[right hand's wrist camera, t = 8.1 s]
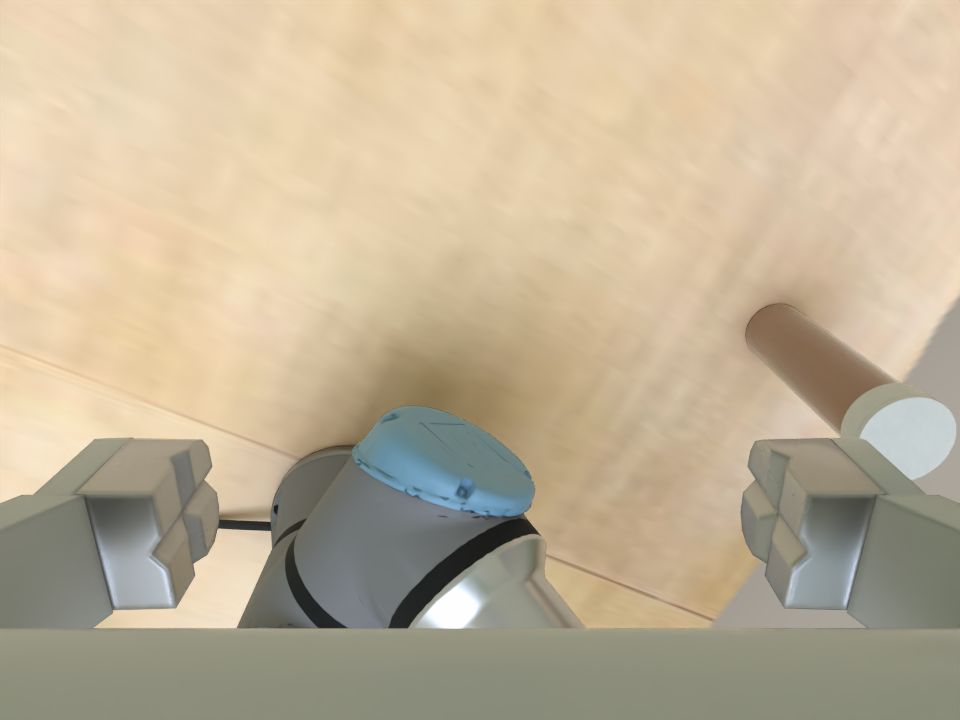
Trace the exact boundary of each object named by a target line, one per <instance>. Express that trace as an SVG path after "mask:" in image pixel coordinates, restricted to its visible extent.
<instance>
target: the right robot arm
mask: <svg viewBox="0 0 960 720" xmlns="http://www.w3.org/2000/svg"><path fill="white" fill-rule="evenodd" d="M211 468H212V462H211V457H210V453H209V448H208V446H207V445H206V444H205V442H204V441H203V440H197V439H142V438H137V439H134V438H104V439H95V440H93V441H92V442H91V443H90V444H89V445H88V446H87V447H86V448H85V449H83V450H82V451H81V452H80V453H79V454H78V455H77V456H76V457H75V458H73V459H72V460H71V461H70V462H69V463H68V464H67V465H66V466H65V467H63V468H62V469H61V470H60V471H59V472H58V473H57V474H56V475H55V476H53V477H52V478H51V479H50V480H49V481H48V482H47V483H46V484H45V485H43V486H42V487H41V488H40V489H39V490H38V491H37V492H36V493H35V494H33V495H20V496H18V497H15V498H13V499H10V500H8V501H5V502H3V503H0V720H960V503H957V502H955V501H952V500H950V499H947V498H945V497H942V496H940V495H927V494H925V493H924V492H923V491H922V490H921V489H920V488H919V487H918V486H917V485H915V484H914V483H913V482H912V481H911V480H910V479H909V478H908V477H907V476H906V475H904V474H903V473H902V472H901V471H900V470H899V469H898V468H897V467H896V466H894V465H893V464H892V463H891V462H890V461H889V460H888V459H887V458H886V457H884V456H883V455H882V454H881V453H880V452H879V451H878V450H877V449H876V448H875V447H873V446H872V445H871V444H870V443H869V442H868V441H867V440H864V439H861V438H834V439H829V438H813V439H771V440H759V441H755V442H754V445H753V447H752V449H751V451H750V456H749V462H748V468H749V470H750V471H751V473H752V474H753V476H754V477H755V479H756V480H755V481H754V482H753V483H752V484H751V485H750V486H749V487H748V488H747V489H746V490H745V491H744V492H743V498H742V506H741V522H742V531H743V534H744V537H745V541H746V544H747V545H748V547H749V549H750V551H751V553H752V554H753V555H754V556H755V557H757V558H759V559H760V560H762V561H764V562H765V563H767V566H766V572H765V577H766V578H767V580H768V582H769V583H770V585H771V587H772V588H773V590H774V592H775V594H776V595H777V597H778V599H779V600H780V602H781V604H782V605H783V607H784V608H788V609H825V610H847V613H848V614H849V615H851V616H852V617H853V618H855V619H856V620H857V621H859V622H860V623H862V624H863V625H864V626H866V627H867V628H93V627H95V626H96V625H97V624H99V623H100V622H101V621H103V620H104V619H106V618H107V617H108V616H110V615H111V614H112V613H113V611H112V610H134V609H170V608H176V607H177V606H178V604H179V602H180V600H181V599H182V597H183V595H184V594H185V592H186V590H187V589H188V587H189V585H190V584H191V582H192V580H193V578H194V577H195V572H194V566H193V563H195V562H196V561H198V560H200V559H201V558H203V557H205V556H206V555H207V554H208V553H209V551H210V549H211V547H212V545H213V543H214V542H215V537H216V533H217V529H218V525H219V504H218V497H217V492H216V491H215V490H214V489H213V488H212V487H211V486H210V485H209V484H208V483H207V482H206V481H205V480H204V479H205V477H206V476H207V474H208V473H209V471H210V470H211Z"/></svg>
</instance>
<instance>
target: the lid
mask: <svg viewBox="0 0 960 720" xmlns="http://www.w3.org/2000/svg"><path fill="white" fill-rule="evenodd" d="M841 438H861V439H864V440H867V441H868V442H869V443H870V444H871V445H872V446H873V447H875V448H876V449H877V450H878V451H879V452H880V453H881V454H882V455H883V456H884V457H886V458H887V459H888V460H889V461H890V462H891V463H892V464H893V465H894V466H896V467H897V468H898V469H899V470H900V471H901V472H902V473H903V474H904V475H906V476H907V477H908V478H909V479H910V480H914V479H917V478H919V477H922V476H924V475H926V474H927V473H929V472H931V471H932V470H934V469H935V468H936V467H937V466H939V465H940V464H941V463H942V462H943V461H944V459H945V458H946V457H947V456H948V454H949V453H950V451H951V449H952V447H953V445H954V442H955V438H956V422H955V419H954V417H953V415H952V413H951V412H950V410H949V409H948V408H947V407H946V406H945V405H943V404H942V403H940V402H939V401H938V400H936V399H935V398H933V397H932V396H930V395H929V394H927V393H926V392H924V391H923V390H921V389H920V388H918V387H916V386H914V385H910V384H905V383H890V384H885V385H881V386H878V387H875V388H873V389H871V390H869V391H867V392H866V393H864V394H863V395H861V396H860V397H859V398H858V399H857V400H856V401H855V402H854V403H853V404H852V405H851V406H850V408H849V409H848V410H847V412H846V414H845V416H844V418H843V421H842V425H841Z"/></svg>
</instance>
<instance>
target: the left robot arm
mask: <svg viewBox="0 0 960 720" xmlns="http://www.w3.org/2000/svg"><path fill="white" fill-rule="evenodd" d="M534 494H535V486H534V482H533V481H532V480H531V475H530V473H529V471H528V470H527V468H526V467H525V466H524V464H523V463H522V462H521V461H520V460H519V458H518V457H517V456H516V455H515V454H514V453H512V452H511V451H510V450H509V449H508V448H507V447H506V446H505V445H503V444H502V443H501V442H500V441H498V440H497V439H495V438H494V437H493V436H491V435H490V434H488V433H487V432H485V431H484V430H482V429H480V428H479V427H477V426H475V425H473V424H471V423H470V422H468V421H466V420H463V419H461V418H459V417H457V416H455V415H452V414H450V413H447V412H444V411H441V410H438V409H434V408H429V407H424V406H403V407H398V408H395V409H393V410H391V411H389V412H387V413H386V414H384V415H383V416H382V417H381V418H380V419H379V420H378V422H377V423H376V424H375V425H374V427H373V428H372V429H371V430H370V432H369V433H368V434H367V436H366V437H365V438H364V439H363V440H362V441H360V442H358V443H357V444H356V445H355V446H339V447H332V448H327V449H323V450H320V451H317V452H315V453H312V454H310V455H308V456H306V457H305V458H303V459H302V460H300V461H299V462H298V463H296V464H295V465H294V466H293V467H292V468H291V469H290V470H289V472H288V473H287V474H286V475H285V477H284V479H283V480H282V482H281V484H280V486H279V488H278V490H277V492H276V494H275V497H274V500H273V504H272V510H271V522H259V521H235V520H219V525H218V528H222V529H238V530H262V531H271V536H272V551H271V553H270V555H269V557H268V559H267V562H266V564H265V566H264V568H263V571H262V573H261V575H260V577H259V580H258V582H257V584H256V586H255V588H254V591H253V593H252V595H251V597H250V600H249V602H248V604H247V606H246V608H245V611H244V613H243V615H242V617H241V620H240V622H239V624H238V626H237V628H586V627H585V626H584V624H583V623H582V622H581V621H580V620H579V618H578V617H577V616H576V615H575V613H574V612H573V611H572V610H571V608H570V607H569V606H568V605H567V604H566V602H565V601H564V600H563V599H562V597H561V596H560V595H559V594H558V592H557V591H556V590H555V589H554V588H553V586H552V585H551V584H550V583H549V581H548V580H547V579H546V577H545V559H546V542H545V540H544V539H543V537H542V536H541V535H540V534H539V533H538V532H537V530H536V529H535V528H534V527H533V526H532V524H531V523H530V522H529V521H528V519H527V518H526V517H525V515H524V512H526V511H528V509H529V508H530V507H531V504H532V499H533V497H534Z"/></svg>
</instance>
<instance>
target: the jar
mask: <svg viewBox="0 0 960 720" xmlns="http://www.w3.org/2000/svg"><path fill="white" fill-rule="evenodd" d="M746 341H747V344H748V347H749V348H750V350H751V351H752V352H753V353H754V354H755V355H756V356H757V357H758V358H759V359H760V360H761V361H762V362H763V363H764V364H765V365H766V366H768V367H769V368H770V369H771V370H772V371H773V372H774V373H775V374H776V375H777V376H778V377H779V378H780V379H781V380H782V381H783V382H784V383H785V384H786V385H787V386H788V387H789V388H790V389H791V390H792V391H793V392H794V393H795V394H796V395H797V396H798V397H799V398H800V399H801V400H802V401H803V402H805V403H806V404H807V405H808V406H809V407H810V408H811V409H812V410H813V411H814V412H815V413H816V414H817V415H818V416H819V417H820V418H821V419H822V420H823V421H824V422H825V423H826V424H827V425H828V426H829V427H830V428H831V429H832V430H833V431H834V432H835V433H836V434H837V435H838V436H839V437H840V438H841V425H842V421H843V418H844V416H845V414H846V412H847V410H848V409H849V408H850V406H851V405H852V404H853V403H854V402H855V401H856V400H857V399H858V398H859V397H860V396H861V395H863V394H864V393H866V392H867V391H869V390H871V389H873V388H875V387H878V386H881V385H885V384H890V383H900V382H899V381H898V380H896V379H895V378H893V377H892V376H890V375H889V374H888V373H886V372H885V371H883V370H882V369H881V368H879V367H878V366H876V365H875V364H873V363H872V362H871V361H869V360H868V359H866V358H865V357H863V356H862V355H861V354H859V353H858V352H856V351H855V350H854V349H852V348H851V347H849V346H848V345H846V344H845V343H844V342H842V341H841V340H839V339H838V338H836V337H835V336H834V335H832V334H831V333H829V332H828V331H827V330H825V329H824V328H822V327H821V326H819V325H818V324H817V323H815V322H814V321H812V320H811V319H809V318H808V317H807V316H805V315H804V314H802V313H801V312H799V311H798V310H797V309H795V308H794V307H792V306H789V305H786V304H774V305H770V306H767V307H765V308H763V309H761V310H760V311H759V312H757V313H756V314H755V315H754V316H753V317H752V319H751V320H750V322H749V324H748V326H747V330H746Z"/></svg>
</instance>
